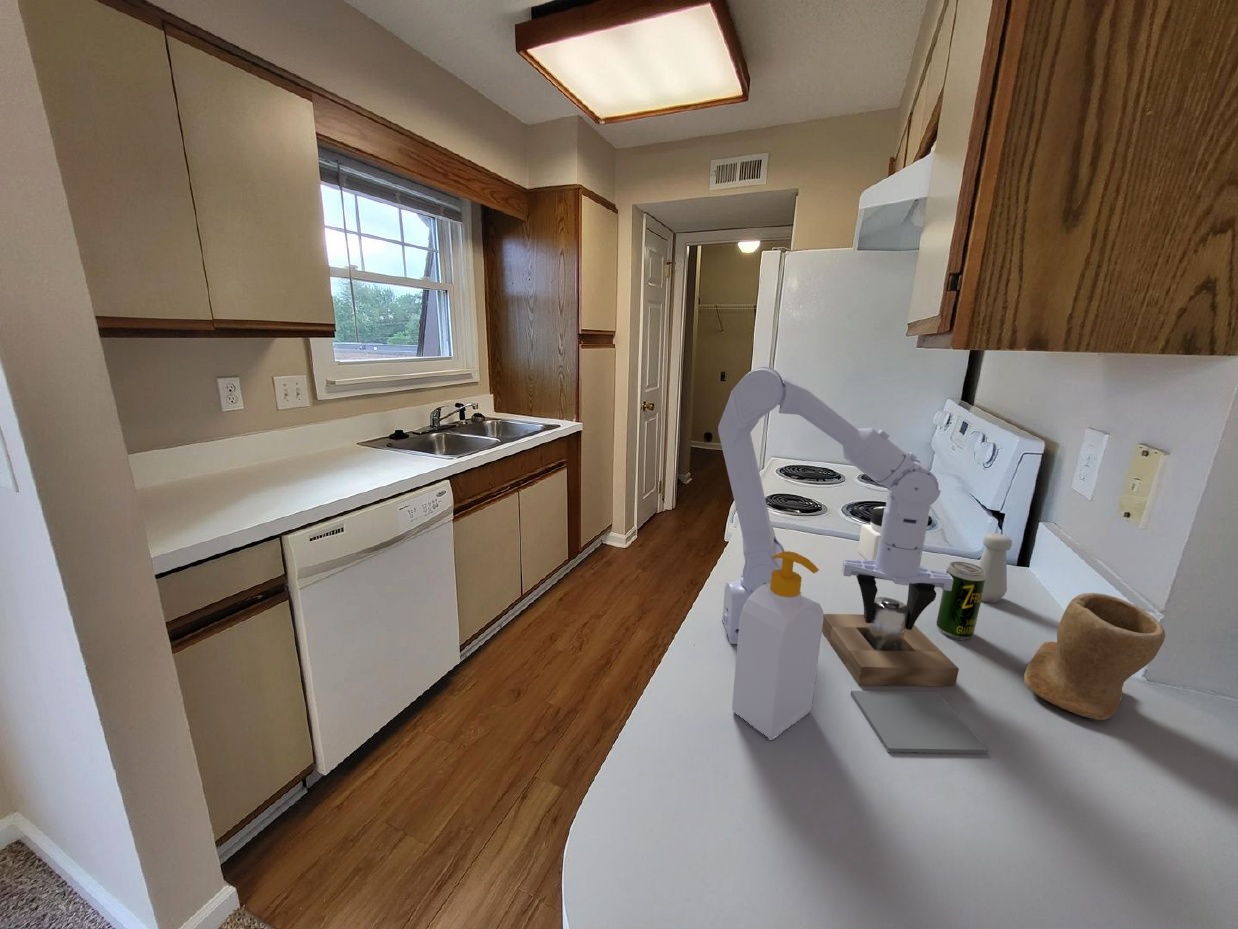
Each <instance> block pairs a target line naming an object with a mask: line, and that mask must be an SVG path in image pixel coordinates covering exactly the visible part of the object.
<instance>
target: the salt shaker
mask: <svg viewBox="0 0 1238 929" xmlns="http://www.w3.org/2000/svg"><path fill="white" fill-rule="evenodd" d="M982 544H983V546H985V548H984V551H983V552H982V555H981V557H980V560H979V562H978V564H977V566H979V567H981V568H983V569H984V570H985V577H986V581H985V585H984V590H983V594H982V599H981V602H985V603H990V604H991V603H992V604H995V603H997V602H999V601H1000V600H1001V599H1002V598H1003V597H1004V596H1005V595H1006V593H1007V590H1008V583H1007V582H1008V581H1007V580H1008V579H1007V578H1008V576H1007V570H1008V569H1007V562H1008V561H1007V551H1010V550H1011V548H1012V545H1013V540H1012V539H1011V538H1010V537H1009V536H1007V535H1004V534H1001V533H995V532H989V533H986V534H985V535H984V537H983V540H982Z"/></svg>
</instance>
